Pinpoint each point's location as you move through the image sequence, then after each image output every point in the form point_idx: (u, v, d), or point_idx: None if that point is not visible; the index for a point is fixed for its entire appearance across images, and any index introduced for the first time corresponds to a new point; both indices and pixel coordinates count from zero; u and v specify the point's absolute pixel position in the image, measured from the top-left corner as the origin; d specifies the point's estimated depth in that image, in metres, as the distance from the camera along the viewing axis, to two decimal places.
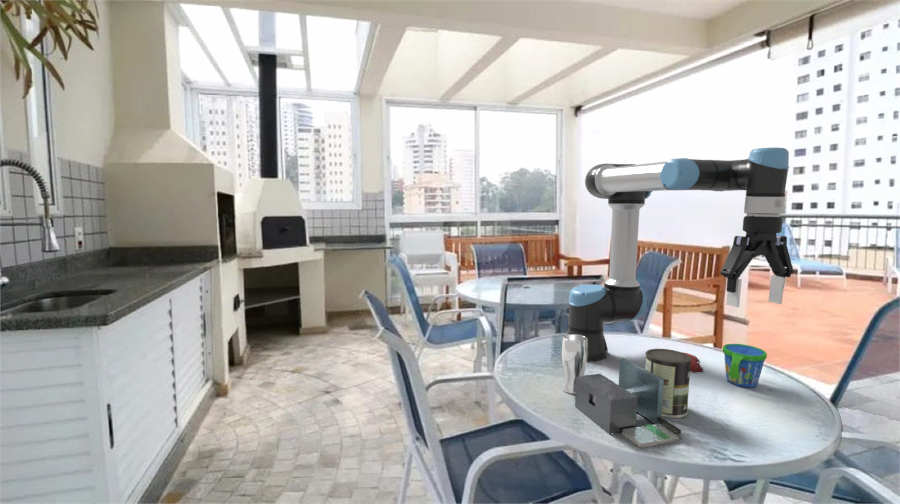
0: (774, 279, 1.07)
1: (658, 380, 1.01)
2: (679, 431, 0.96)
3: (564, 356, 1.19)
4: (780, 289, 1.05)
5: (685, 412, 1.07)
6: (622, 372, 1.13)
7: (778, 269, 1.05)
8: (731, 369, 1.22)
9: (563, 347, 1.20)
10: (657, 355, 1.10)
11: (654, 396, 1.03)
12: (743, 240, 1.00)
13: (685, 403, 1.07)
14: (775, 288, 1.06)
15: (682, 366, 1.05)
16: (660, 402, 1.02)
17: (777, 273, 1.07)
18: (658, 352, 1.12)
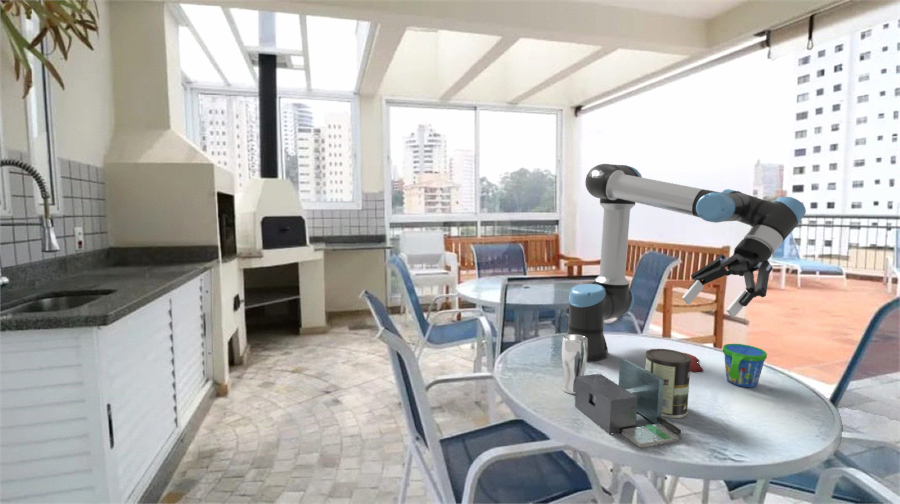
0: (698, 284, 1.18)
1: (658, 380, 1.01)
2: (679, 431, 0.96)
3: (564, 356, 1.19)
4: (696, 294, 1.18)
5: (685, 412, 1.07)
6: (622, 372, 1.13)
7: (708, 280, 1.18)
8: (731, 369, 1.22)
9: (563, 347, 1.20)
10: (657, 355, 1.10)
11: (654, 396, 1.03)
12: (771, 269, 1.07)
13: (685, 403, 1.07)
14: (694, 291, 1.18)
15: (682, 366, 1.05)
16: (660, 402, 1.02)
17: (700, 280, 1.19)
18: (658, 352, 1.12)
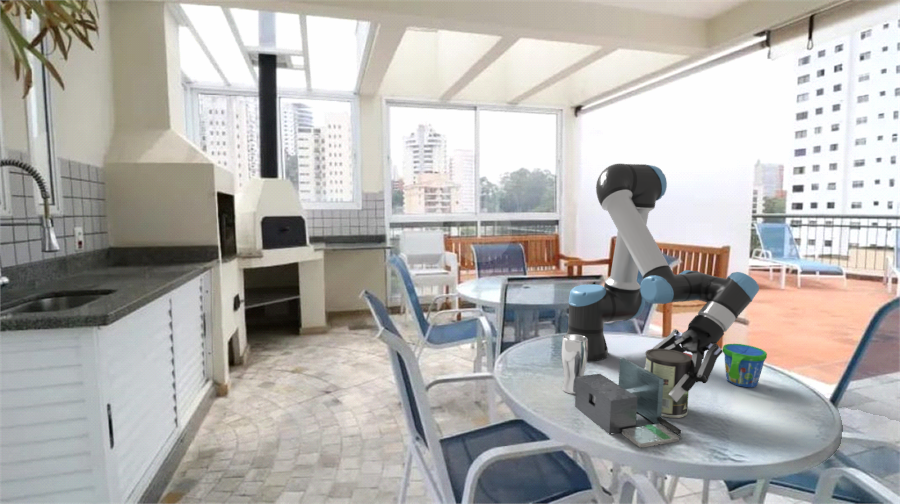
0: None
1: (658, 380, 1.01)
2: (679, 431, 0.96)
3: (564, 356, 1.19)
4: None
5: (685, 412, 1.07)
6: (622, 372, 1.13)
7: None
8: (731, 369, 1.22)
9: (563, 347, 1.20)
10: (657, 355, 1.10)
11: (654, 396, 1.03)
12: (720, 353, 1.06)
13: (685, 403, 1.07)
14: None
15: (682, 366, 1.05)
16: (660, 402, 1.02)
17: None
18: (658, 352, 1.12)
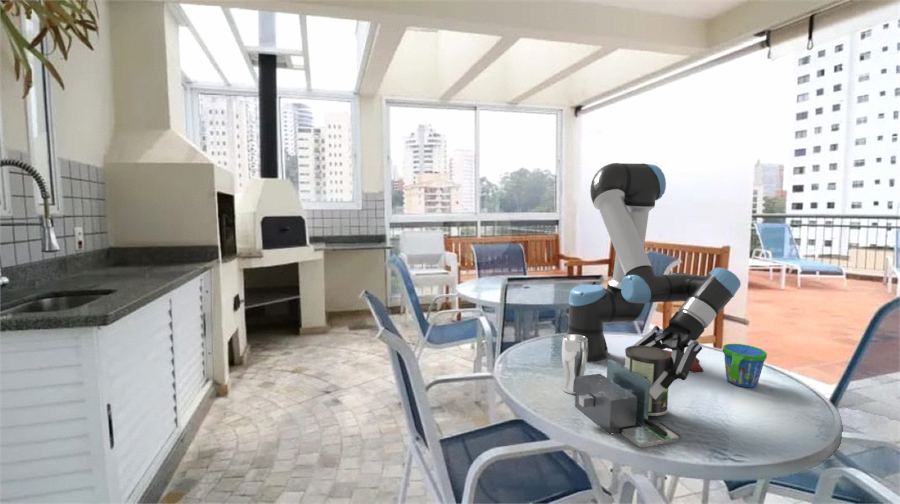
0: None
1: (645, 382, 1.00)
2: (665, 433, 0.95)
3: (564, 356, 1.19)
4: None
5: (665, 410, 1.05)
6: (609, 373, 1.12)
7: None
8: (731, 369, 1.22)
9: (563, 347, 1.20)
10: (636, 352, 1.08)
11: (640, 398, 1.02)
12: (700, 350, 1.04)
13: (664, 401, 1.05)
14: None
15: (661, 363, 1.03)
16: (647, 404, 1.01)
17: None
18: (638, 348, 1.10)
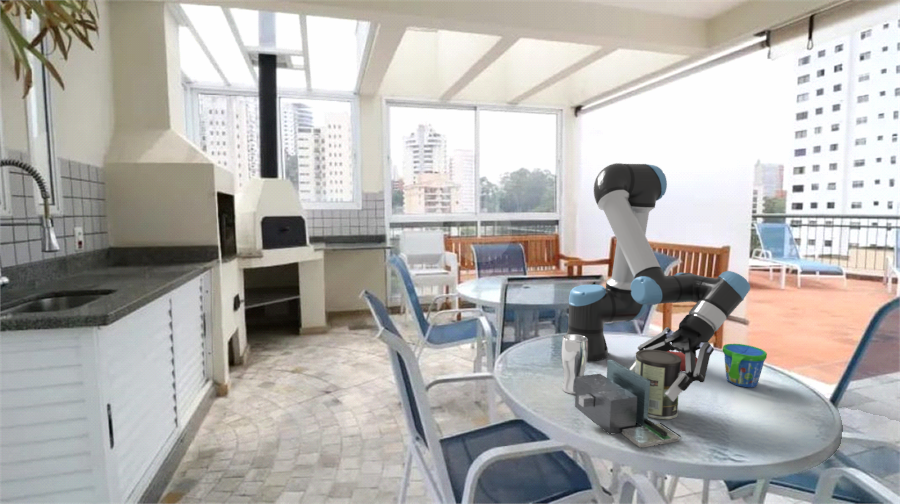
0: None
1: (645, 382, 1.00)
2: (665, 433, 0.95)
3: (564, 356, 1.19)
4: None
5: (675, 413, 1.07)
6: (609, 373, 1.12)
7: None
8: (731, 369, 1.22)
9: (563, 347, 1.20)
10: (647, 356, 1.09)
11: (640, 398, 1.02)
12: (712, 351, 1.05)
13: (675, 404, 1.06)
14: None
15: (672, 367, 1.04)
16: (647, 404, 1.01)
17: None
18: (648, 352, 1.12)
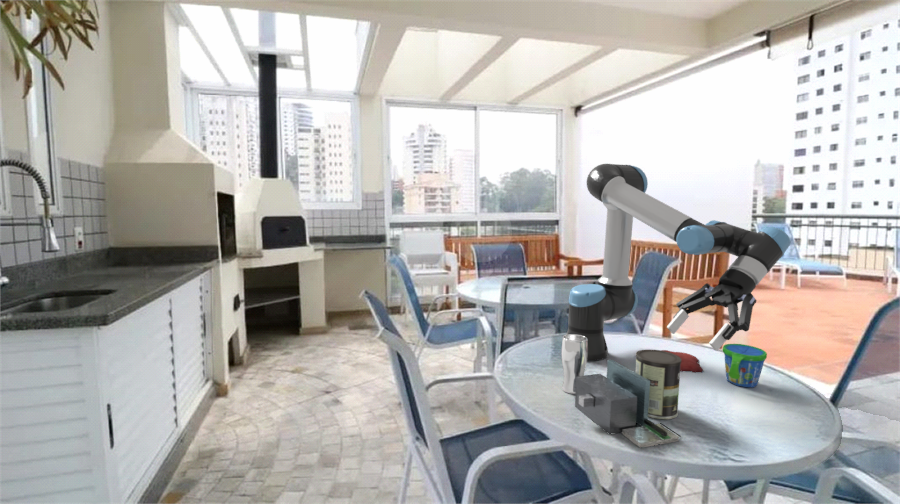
0: (683, 314, 1.17)
1: (645, 382, 1.00)
2: (665, 433, 0.95)
3: (564, 356, 1.19)
4: (681, 323, 1.18)
5: (675, 413, 1.07)
6: (609, 373, 1.12)
7: (693, 309, 1.18)
8: (731, 369, 1.22)
9: (563, 347, 1.20)
10: (647, 356, 1.09)
11: (640, 398, 1.02)
12: (754, 302, 1.06)
13: (675, 404, 1.06)
14: (679, 321, 1.17)
15: (672, 367, 1.04)
16: (647, 404, 1.01)
17: (685, 309, 1.18)
18: (648, 353, 1.12)
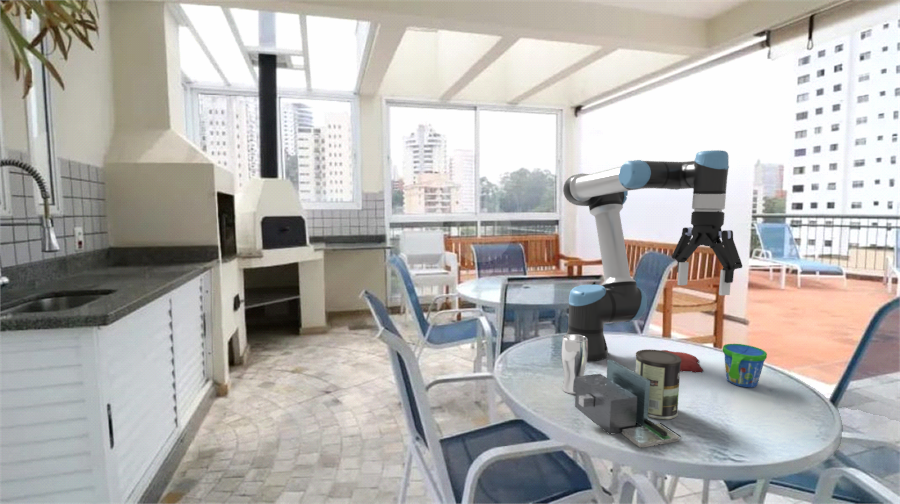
0: (683, 265, 1.23)
1: (645, 382, 1.00)
2: (665, 433, 0.95)
3: (564, 356, 1.19)
4: (687, 272, 1.24)
5: (675, 413, 1.07)
6: (609, 373, 1.12)
7: (688, 256, 1.23)
8: (731, 369, 1.22)
9: (563, 347, 1.20)
10: (647, 356, 1.09)
11: (640, 398, 1.02)
12: (732, 234, 1.10)
13: (675, 404, 1.06)
14: (684, 272, 1.24)
15: (672, 367, 1.04)
16: (647, 404, 1.01)
17: (681, 259, 1.24)
18: (648, 352, 1.12)
